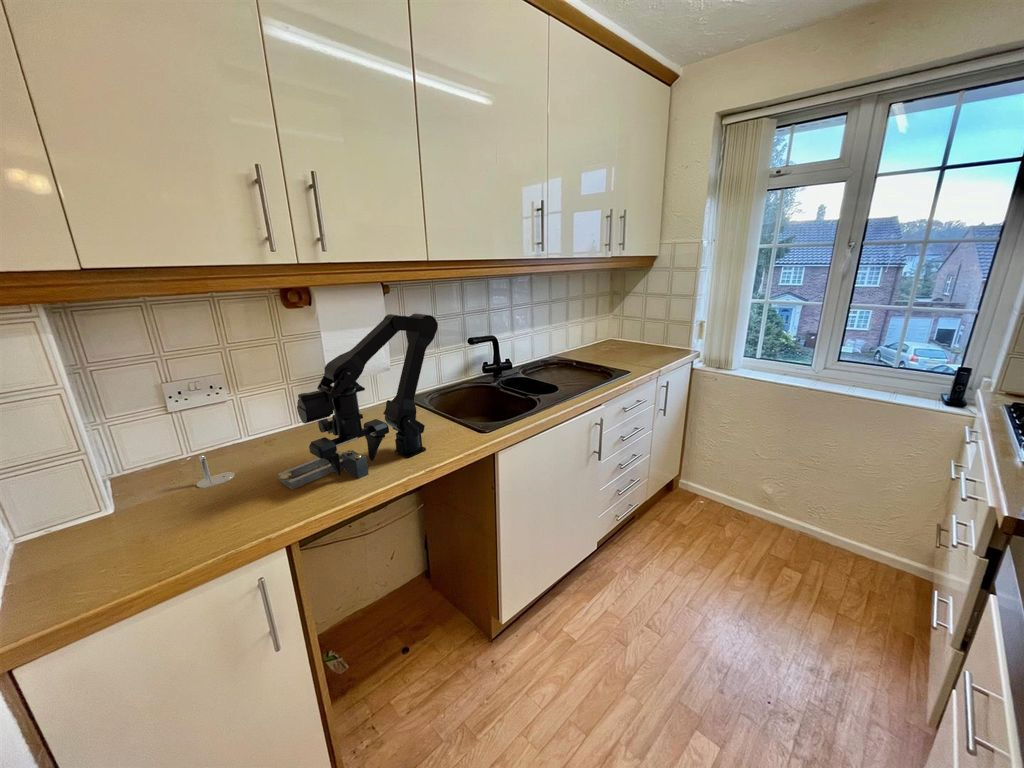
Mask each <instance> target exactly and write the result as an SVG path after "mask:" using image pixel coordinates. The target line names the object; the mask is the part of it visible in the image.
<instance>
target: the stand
mask: <svg viewBox="0 0 1024 768" xmlns="http://www.w3.org/2000/svg"><path fill="white" fill-rule="evenodd" d="M198 458H199V461H200V466H201V469H202V472H203V477H204V478H202V479H201V480H199V481H197V483H196V487H197V489H205V488H209V487H213V486H216V485H220V484H223V483H227V482H228V481H231V480H232V479H233V478H235V476H236V475H235V473H234V472H231V471H227V472H221V473H218V474H215V475H212V476H211V473H210V470H209V466H208V462H207V461H208V460H207V457H206V456H205V455H198Z"/></svg>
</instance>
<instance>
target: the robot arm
mask: <svg viewBox="0 0 1024 768" xmlns="http://www.w3.org/2000/svg"><path fill="white" fill-rule="evenodd" d="M438 327H439V324H438V322H437V320H436V318H435V317H434V316H433V315H430V314H425V313H424V314H423V313H417V312H415V313H413V314H411V315H409V316H407V315H398V314H392V313H389V314H387V315H385V317H383V320H381V321H380V322H379V323H378V324H377V325H376V326H375V327H373V329H371V331H370V332H369V333H367V334H366V335H365V336H364V337H363V338H362V339H361V340H360V341H359V342H358V343H357V344H356V345H355V346H354V347H352V348H351V349H350V350H348V351H346V352H344V353H341V354H340V355H337V356H336V357H335V358H333V359H332V360H330V361H329V362H327V363H326V364H325V366H324V373H323V376H322V378H321V380H320V382H319V383H318V386H317V388H316V389H317V390H314V391H311V392H303V393H299V394H298V395H297V398H298V399H297V406H296V409H297V414H298V416H299V418H300V420H301V422H302V423H303V424H308V423H311V422H315V421H317V424H318V429H319V432H320V433H322V434H323V433H325V432H326V433H327V434H328V435H330V434H332V435H333V436H335V437H336V438H332V439H330V438H328V437H325V436H324V437H321V438H319V439H316V440H312V441H310V444H309V447H308V448H309V453H310V454H312V455H314V457H317V458H320V459H323V458H324V459H326V460H328V461H329V463H328V464H331V466H332V467H333V469H334V470H335V472H334V473H335V474H336V475H337V476H342V474H341V473H342V472H341V470H342V469H341V468H340V460H339V454H338V453H336V451H338V449H337V447H340V446H342V445H345V444H347V443H350V442H352V441H355V440H357V439H360V438H363V437H365V440H366V442H367V443H366V444H367V445H366V446H367V453H368V458H369V461H371V462H374V460H375V457H376V455H377V452H378V449H379V447H380V445H381V443H382V440H383V439H385V437H386V435H387V434H389V433H390V427H391V428H392V430H393V431H396V433H395V440H394V441H395V449H394V453H396V454H398V455H400V456H403V457H405V458H406V459H408V458H409V459H410V458H411V457H414V456H416V455H418V454H421V453H422V452H424V451H427V448H426V447H425V446H423V439H422V434H424V432H425V424H423V423H422V422H420V421H419V420H418V419H417V406H416V401H415V396H416V392H417V389H418V386H419V380H420V376H421V373H422V372H421V371H422V367H423V363H424V359H425V354H426V350H427V348H428V347H429V346H430V344H431V343H432V342H433V341H434V339H435V336H436V334H437V331H438ZM400 331H402V332H405V335H406V341H407V348H406V352H405V356H404V361H403V366H402V370H401V372H400V373H401V374H400V378H399V382H398V387H397V392H396V395H395V396H394V398H393V399H391V400H389V399H387V400H386V402H385V403H386V405H385V410H384V411H383V413H382V414H383V415H384V421H383V420H380V419H378V418H375V419H372V420H369V421H366V422H364V424H363V427H362V419H364V416H363V415H364V414H362V413H360V407H359V406H360V405H359V399H358V394H357V393H360V392H364V391H365V390H366V387H364V386H362V385H360V384H359V382H357V380H358V379H359V378H360V376H361V375H362V373H363V371H364V370H365V366H366V364H368V362H369V361H370V360H371V359H372V358H373V357H374V356H375V355H376V354H377V353H378V352H379V351H380V350H381V349H382V348H384V347H385V345H386V344H387V343H388V342H389V341H390V340H392V339H393V337H394V336H395V335H396V334H397V333H398V332H400ZM330 417H332V418H331V420H328V418H330ZM389 426H390V427H389ZM337 436H338V437H337Z"/></svg>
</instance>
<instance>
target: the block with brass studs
mask: <svg viewBox="0 0 1024 768" xmlns="http://www.w3.org/2000/svg"><path fill="white" fill-rule="evenodd" d="M344 452H345V453H342V460H343V466H344V468H343V470H344V472H346V473H347V474H349V475H351V476H353V478H356V479H358V480H360V479H362V478H364V477H367V476H369V474H370V473H369V468H368V467H369V466H368V460H367V456H365V455H363V454H360V453H358V452H357V451H355V450H352V449H347V450H345V451H344Z"/></svg>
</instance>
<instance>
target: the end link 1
mask: <svg viewBox="0 0 1024 768" xmlns="http://www.w3.org/2000/svg"><path fill="white" fill-rule="evenodd" d="M277 475H278V476H277V477H278V480H279V481H280V482H281V483H282V484H283V485H284V486H286V487H287V488H289V489H290V490H295V489H297V488H300V487H303V486H304V485H306V484H308V483H311V482H314V481H316V480H319V479H321V478H323V477H325V476H328V475H329V473H328V468H327V465H323V466H320V467H318V466H317V461H316V459H312V460H310V461H307V462H305V463H302V464H299V465H297V466H294V467H291V468H289V469H287V470H284V471H281V472H278V474H277Z"/></svg>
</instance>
